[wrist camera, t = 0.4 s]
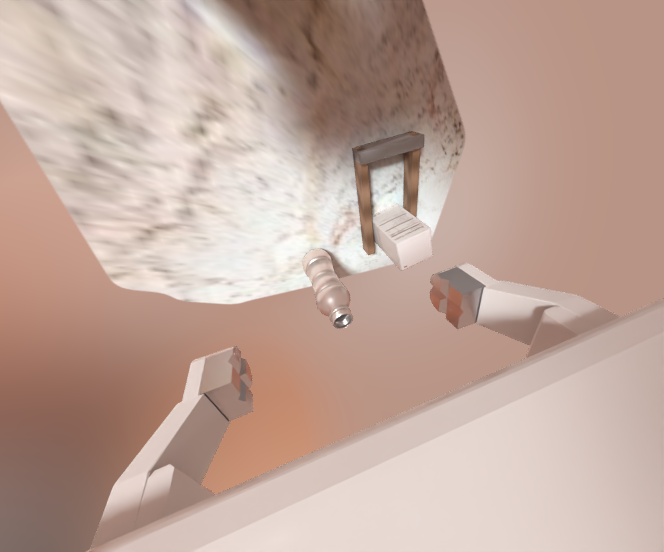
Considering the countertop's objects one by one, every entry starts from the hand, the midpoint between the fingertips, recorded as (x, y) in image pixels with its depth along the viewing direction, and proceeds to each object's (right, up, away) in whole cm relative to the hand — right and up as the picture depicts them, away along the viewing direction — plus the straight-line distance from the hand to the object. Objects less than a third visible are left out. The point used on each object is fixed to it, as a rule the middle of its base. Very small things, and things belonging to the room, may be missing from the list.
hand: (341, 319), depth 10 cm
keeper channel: (+11, +18, +43) cm, 48 cm away
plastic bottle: (-5, +6, +47) cm, 47 cm away
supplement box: (+12, +14, +47) cm, 50 cm away
